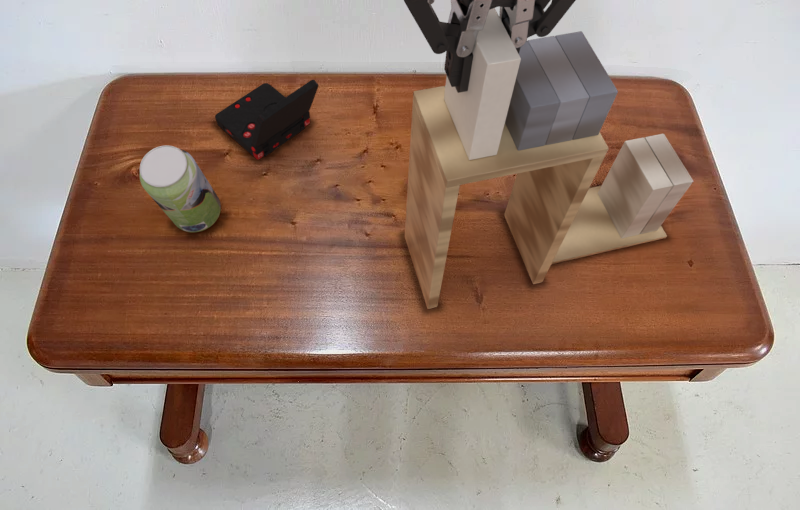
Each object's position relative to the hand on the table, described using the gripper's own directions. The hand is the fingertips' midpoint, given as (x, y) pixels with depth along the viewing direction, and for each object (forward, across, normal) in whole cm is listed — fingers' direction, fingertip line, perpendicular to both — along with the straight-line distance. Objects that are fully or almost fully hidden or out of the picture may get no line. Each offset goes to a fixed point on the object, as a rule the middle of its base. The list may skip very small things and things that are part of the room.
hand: (478, 80), depth 46 cm
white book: (+5, 0, 0) cm, 5 cm away
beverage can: (+29, -28, +14) cm, 42 cm away
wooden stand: (+29, +4, 0) cm, 29 cm away
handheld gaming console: (+29, -16, +26) cm, 42 cm away
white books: (+29, +20, +2) cm, 35 cm away
